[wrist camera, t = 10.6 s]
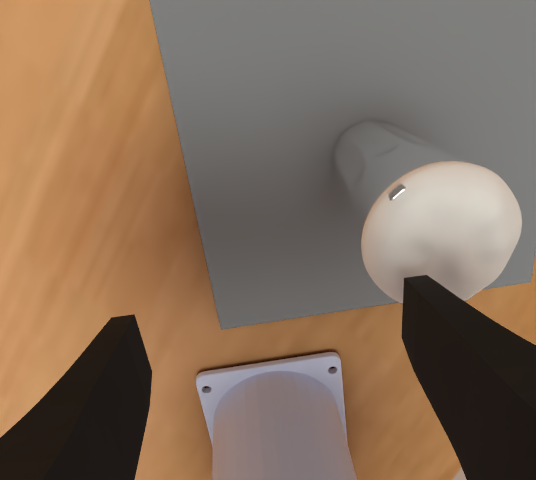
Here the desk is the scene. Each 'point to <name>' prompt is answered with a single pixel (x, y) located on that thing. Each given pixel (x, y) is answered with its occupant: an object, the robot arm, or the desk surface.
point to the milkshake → (423, 211)
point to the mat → (335, 129)
